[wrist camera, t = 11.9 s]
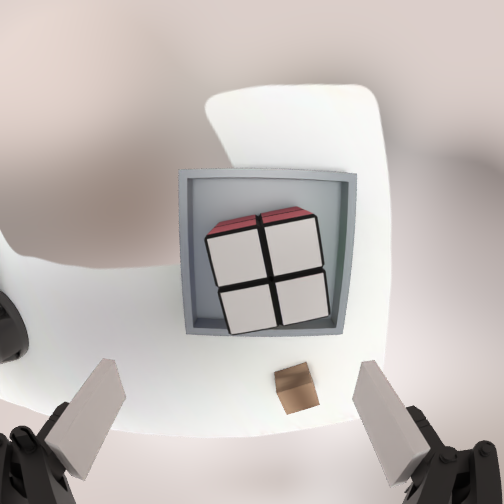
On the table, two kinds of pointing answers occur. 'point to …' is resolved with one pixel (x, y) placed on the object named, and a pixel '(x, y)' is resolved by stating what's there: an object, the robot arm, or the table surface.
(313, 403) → the walnut block
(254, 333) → the tray
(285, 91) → the table surface
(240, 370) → the table surface
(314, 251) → the puzzle cube
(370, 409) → the robot arm
